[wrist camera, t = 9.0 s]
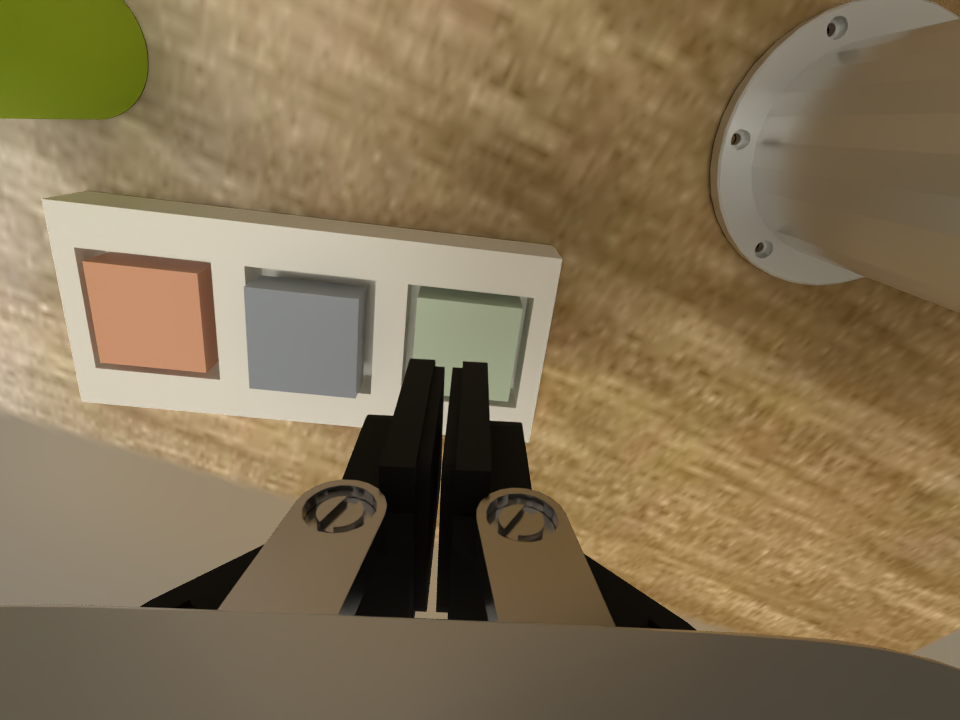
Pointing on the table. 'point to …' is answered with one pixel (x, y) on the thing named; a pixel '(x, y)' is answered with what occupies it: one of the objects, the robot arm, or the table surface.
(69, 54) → the soap dispenser
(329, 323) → the slate button
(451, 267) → the button panel
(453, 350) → the sage button
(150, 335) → the terracotta button
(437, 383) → the robot arm
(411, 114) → the table surface
